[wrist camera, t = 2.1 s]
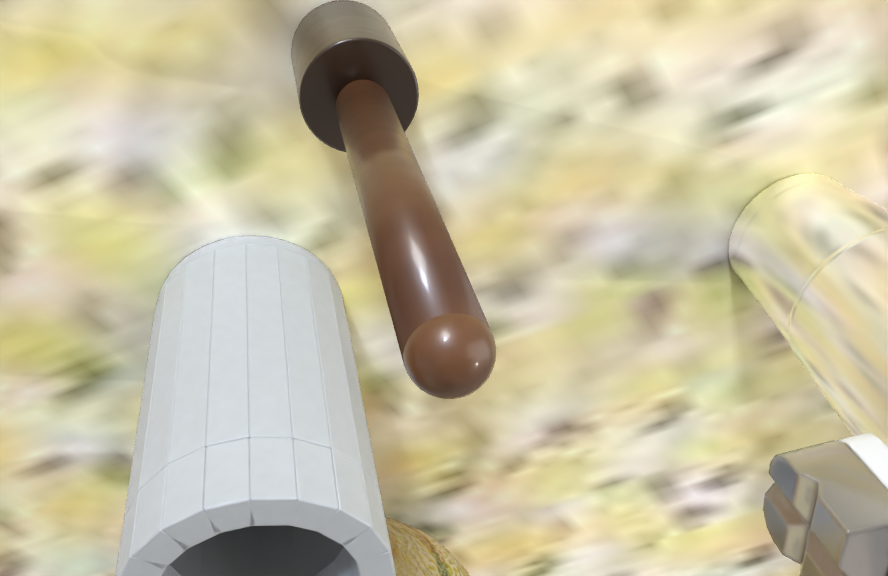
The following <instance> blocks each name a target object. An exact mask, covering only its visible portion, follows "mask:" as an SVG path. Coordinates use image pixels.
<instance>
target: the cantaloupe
mask: <svg viewBox="0 0 888 576" xmlns="http://www.w3.org/2000/svg"><path fill="white" fill-rule="evenodd" d="M385 520H386V525H387V530H388V535H389V540H390V546H391V551H392V556H393V561H394V566H395V572H396V576H470V575H469V574H468V572H467V571H466V569H465V568H464V567H463V566H462V565H461V564H460V563H459V561H458V560H457V559H456V558H455V557H454V556H453V555H452V554H451V553H450V552H449V551H448V550H447V549H446V548H445V547H444V546H442V545H441V544H440V543H439V542H438V541H436V540H435V539H434V538H432V537H431V536H429V535H428V534H426V533H424V532H422V531H421V530H419V529H417V528H414V527H411V526H409V525H406V524H403V523H400V522H398V521H397V520H393V519H390V518H385Z"/></svg>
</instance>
